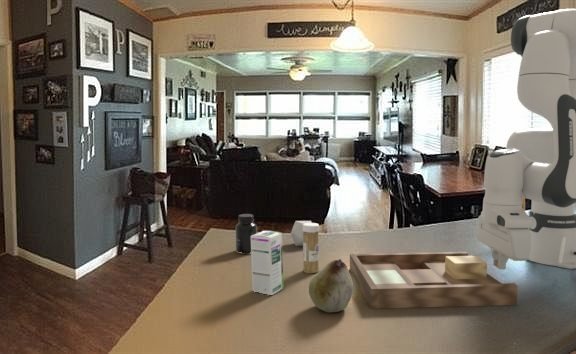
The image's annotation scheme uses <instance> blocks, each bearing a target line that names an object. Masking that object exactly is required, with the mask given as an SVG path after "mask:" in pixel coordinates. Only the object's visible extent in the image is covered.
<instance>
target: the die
mask: <svg viewBox="0 0 576 354" xmlns="http://www.w3.org/2000/svg"><path fill="white" fill-rule="evenodd" d="M305 223H313V222H312V220H295V222H294V224H293V226H292V229H291V232H290V236H291V239H292V241H293V242H294V245H295V247H303V224H305Z"/></svg>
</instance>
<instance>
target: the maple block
mask: <svg viewBox="0 0 576 354" xmlns="http://www.w3.org/2000/svg"><path fill="white" fill-rule="evenodd" d="M487 270H488V262H487V261H485V260H484V259H482V258H480V257H479V256H477V255H468V256H446V258H445V272H446V273H448V274H449V275H450V276H451V277H452V278H454V279H485V278H486V275H487V274H488V271H487Z"/></svg>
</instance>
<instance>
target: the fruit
mask: <svg viewBox="0 0 576 354" xmlns="http://www.w3.org/2000/svg"><path fill="white" fill-rule="evenodd" d="M308 284H309V285H308V295H309V297H310V299H311V301H312V303H313V304H314V305H315V306H316V308H318V310H321V311H323V312H325V313H329V314H330V313H339V312H341V311H344V310H345V309H346V308H347V307H348V305H349V303H350V302H351V299H352V296H353V290H354V283H353V279H352V276H351V274H350V272H349V268H348V266H347V265H346V263H345V262H343V260H342V259H341V258H340V259H334V260H331V261H330V262H328V263H326V265H325V266H323V267H322V268H321V269H319V271H318V272H316V273H315V275H314V276H313V277H312V278H311V279H310V282H309V283H308Z"/></svg>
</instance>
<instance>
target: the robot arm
mask: <svg viewBox="0 0 576 354" xmlns="http://www.w3.org/2000/svg"><path fill="white" fill-rule="evenodd" d="M509 40H510V46H511V49H512V51H513V52H515V53H516V54H517V55H518V56H521V61H520V65H519V72H518V78H517V84H516V85H517V88H516V90H517V92H516V93H517V97H518V98H517V99H518V101H519V103H520V104H521V105H522V106H523V107H524V108H525V109H527V110H528V111H529V112H531V113H534V114H535V115H538V116H540V117H542V118H544V119H545V120H546V121H548V123H549V124H550V126H551V127H531V128H524V129H519V130H515V131H513V133H511V135H509V137H508V139H507V142H506V148H504V149H503V148H502V149H497V150H494V151H492V152H490V153H489V154H488V156H487V157H486V160H485V161H486V162H485V165H484V173H483V174H484V175H483V187H484V191H485V192H484V197H483V200H482V211H481V212H480V215H479V216H478V218H477V223H476V229H475V230H476V231H475V232H476V233H475V238H476V241H478V242H479V243H481V244H483V245H485V246H486V247H488V248H490V253H491V256H492V263H493V264H492V265H493V266H494V267H495V268H497V270H501V271H503V270H506V268H507V262H508V260H509V259H510V260H511V261H514V262H525V261H526V262H527V261H531V262H532V263H533V262H534V263H538V264H541V265H546V266H547V265H548V266H552V267H553V266H554V267H559V268H564V269H569V270H571V269H576V213H575V211H576V210H575V209H576V208H575V207H576V8H565V9H557V10H554V11H548V12H543V13H542V12H541V13H537V14H528V15H524V16H522V17H520V18H518V19H517V20H516V21H515V22H514V24H513V25H512V27H511V31H510V39H509ZM522 198H525V200H526V199H527V200H531V205H530V206H531V207H530V208H531V209H530V210H529V214H527V212H526V210H525V211H524V210H523V209H522Z"/></svg>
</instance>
